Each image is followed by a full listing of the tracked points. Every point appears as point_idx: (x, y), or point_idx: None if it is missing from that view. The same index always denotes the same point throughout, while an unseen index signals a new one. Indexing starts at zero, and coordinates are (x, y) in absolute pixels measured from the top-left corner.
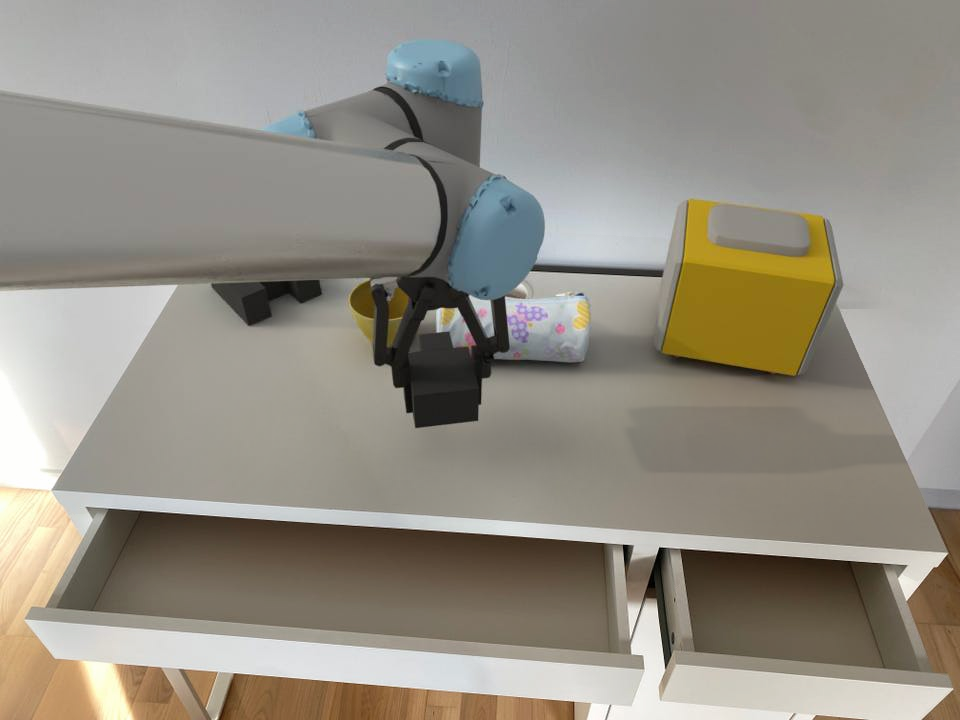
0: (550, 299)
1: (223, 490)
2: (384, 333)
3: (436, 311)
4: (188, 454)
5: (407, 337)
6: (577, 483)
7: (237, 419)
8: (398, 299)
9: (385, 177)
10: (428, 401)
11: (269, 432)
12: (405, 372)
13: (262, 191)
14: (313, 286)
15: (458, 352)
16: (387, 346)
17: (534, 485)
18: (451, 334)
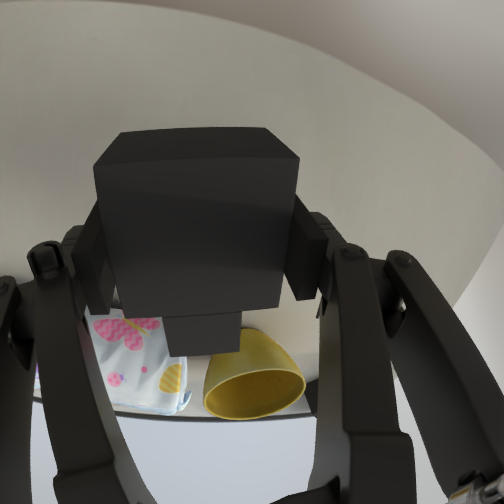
0: None
1: (457, 144)
2: (449, 343)
3: (186, 382)
4: (466, 200)
5: (369, 339)
6: (4, 70)
7: (425, 237)
8: (231, 391)
9: None
10: (249, 147)
11: (406, 214)
12: (319, 232)
13: None
14: (313, 393)
15: (148, 303)
16: (251, 332)
17: (59, 61)
18: (164, 348)
